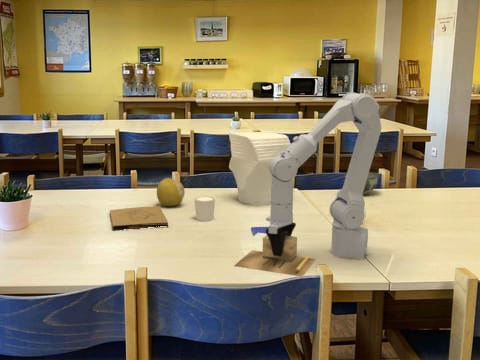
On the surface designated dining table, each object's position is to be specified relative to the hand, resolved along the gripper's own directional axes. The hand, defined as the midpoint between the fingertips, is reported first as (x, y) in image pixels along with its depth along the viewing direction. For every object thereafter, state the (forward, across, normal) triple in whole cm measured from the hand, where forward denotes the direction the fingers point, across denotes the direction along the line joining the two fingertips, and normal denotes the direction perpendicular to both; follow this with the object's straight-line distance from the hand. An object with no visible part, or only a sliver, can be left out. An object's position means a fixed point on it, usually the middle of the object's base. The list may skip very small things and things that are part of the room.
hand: (280, 252), depth 145 cm
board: (+3, +4, 0) cm, 5 cm away
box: (+3, -19, -56) cm, 59 cm away
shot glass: (+3, -29, -36) cm, 46 cm away
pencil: (+1, +3, +7) cm, 8 cm away
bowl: (+3, -87, +6) cm, 87 cm away
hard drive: (+3, -20, -11) cm, 23 cm away
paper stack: (+3, -60, -25) cm, 65 cm away
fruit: (+3, -40, -55) cm, 68 cm away
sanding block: (+1, 0, 0) cm, 1 cm away
